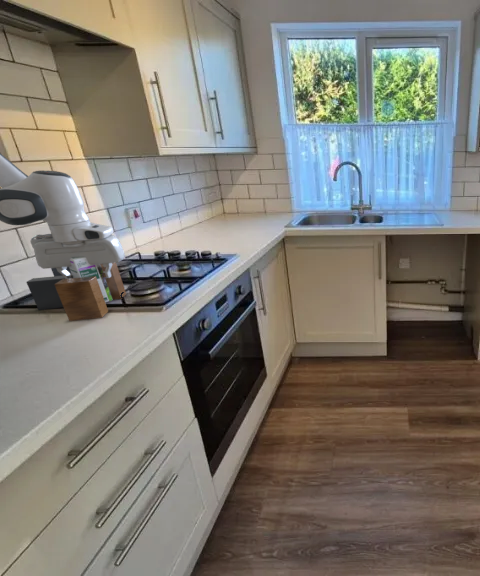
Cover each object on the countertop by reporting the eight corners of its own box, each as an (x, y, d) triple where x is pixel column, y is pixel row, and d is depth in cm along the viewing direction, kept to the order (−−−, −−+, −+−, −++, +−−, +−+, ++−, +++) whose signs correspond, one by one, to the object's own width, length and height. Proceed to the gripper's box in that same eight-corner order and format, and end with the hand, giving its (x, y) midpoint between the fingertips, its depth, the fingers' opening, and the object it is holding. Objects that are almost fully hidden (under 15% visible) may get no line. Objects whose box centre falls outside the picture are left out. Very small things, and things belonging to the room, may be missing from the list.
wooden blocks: (69, 321, 99) (54, 284, 95) (98, 296, 115) (86, 264, 110) (102, 317, 101) (88, 281, 97) (126, 294, 116) (115, 261, 112)
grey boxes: (38, 310, 106) (26, 281, 103) (66, 290, 120) (56, 265, 116) (77, 306, 109) (66, 278, 105) (100, 287, 122) (91, 262, 119)
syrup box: (90, 307, 104) (73, 259, 98) (82, 303, 107) (64, 256, 101) (113, 300, 108) (97, 254, 102) (104, 296, 111) (88, 251, 105)
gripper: (20, 238, 94) (41, 287, 99) (109, 232, 98) (124, 279, 104) (35, 232, 100) (54, 279, 105) (118, 226, 104) (132, 271, 109)
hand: (89, 279), depth 104 cm, fingers closed on syrup box, 8 cm apart
